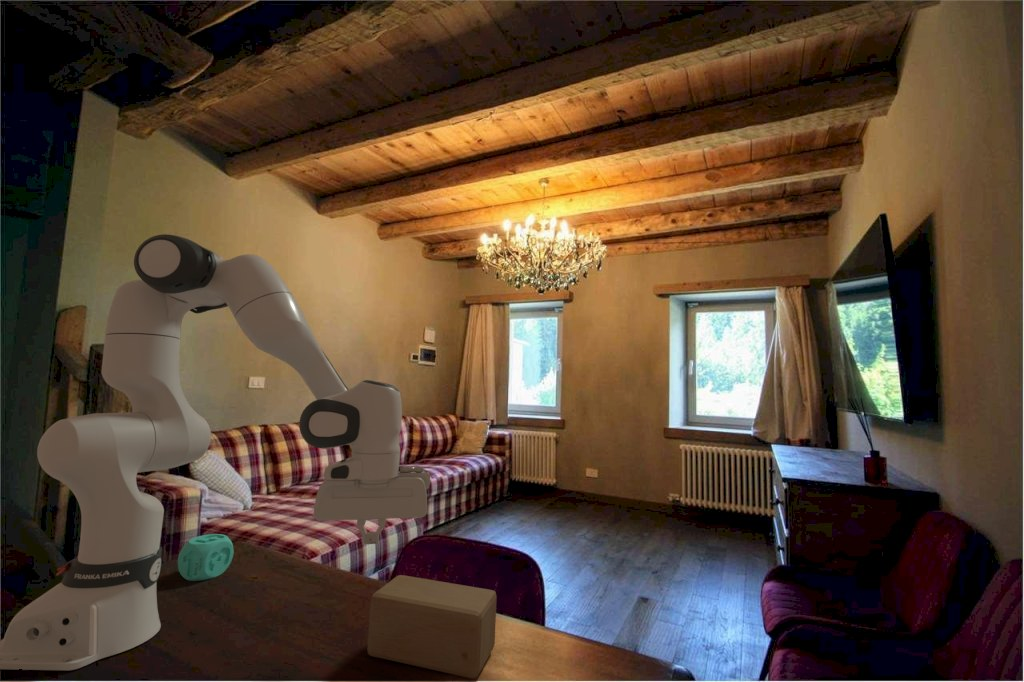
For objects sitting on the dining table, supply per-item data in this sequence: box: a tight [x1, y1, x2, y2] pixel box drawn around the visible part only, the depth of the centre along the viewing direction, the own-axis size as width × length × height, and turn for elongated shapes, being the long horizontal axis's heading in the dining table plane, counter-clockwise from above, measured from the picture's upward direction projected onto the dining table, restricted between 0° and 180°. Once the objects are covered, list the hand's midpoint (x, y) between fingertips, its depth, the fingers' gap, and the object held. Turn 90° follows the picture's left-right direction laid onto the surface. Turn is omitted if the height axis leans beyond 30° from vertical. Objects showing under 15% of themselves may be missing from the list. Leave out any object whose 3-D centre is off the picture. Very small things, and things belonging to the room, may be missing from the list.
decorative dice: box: [177, 533, 235, 582], centre depth 107 cm, size 8×8×8 cm
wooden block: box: [366, 574, 498, 679], centre depth 78 cm, size 10×10×20 cm
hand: (370, 543), depth 83 cm, fingers closed
